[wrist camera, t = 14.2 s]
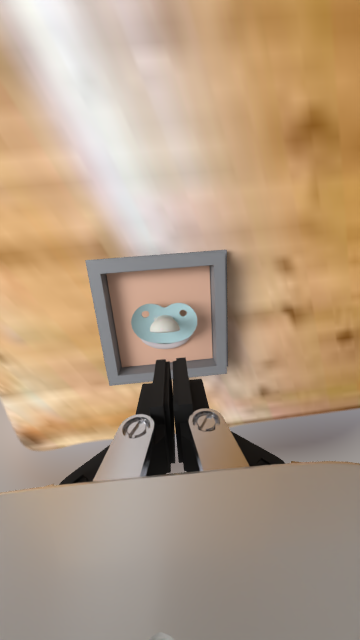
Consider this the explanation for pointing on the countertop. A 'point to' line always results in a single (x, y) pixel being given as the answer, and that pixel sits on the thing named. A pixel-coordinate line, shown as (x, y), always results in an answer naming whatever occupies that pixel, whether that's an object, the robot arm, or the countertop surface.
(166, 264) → the holder
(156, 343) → the pacifier
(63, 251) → the countertop surface
